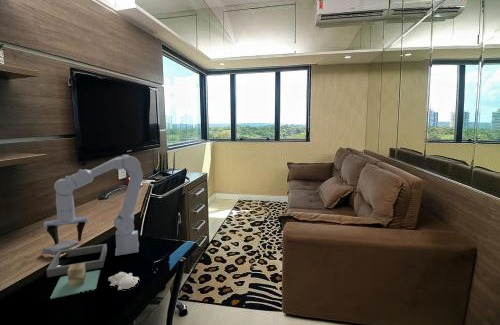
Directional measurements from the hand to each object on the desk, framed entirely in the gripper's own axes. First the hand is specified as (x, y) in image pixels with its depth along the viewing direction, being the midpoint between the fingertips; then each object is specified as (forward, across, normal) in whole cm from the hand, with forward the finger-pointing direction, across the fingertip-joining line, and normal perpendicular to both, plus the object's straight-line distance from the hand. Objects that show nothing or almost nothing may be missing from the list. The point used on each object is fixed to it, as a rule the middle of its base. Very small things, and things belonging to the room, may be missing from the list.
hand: (68, 241), depth 104 cm
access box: (+10, +3, +2) cm, 11 cm away
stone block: (+11, -7, +16) cm, 21 cm away
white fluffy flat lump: (+11, +20, -20) cm, 31 cm away
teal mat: (+10, +5, -15) cm, 19 cm away
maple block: (+10, +5, -15) cm, 18 cm away
